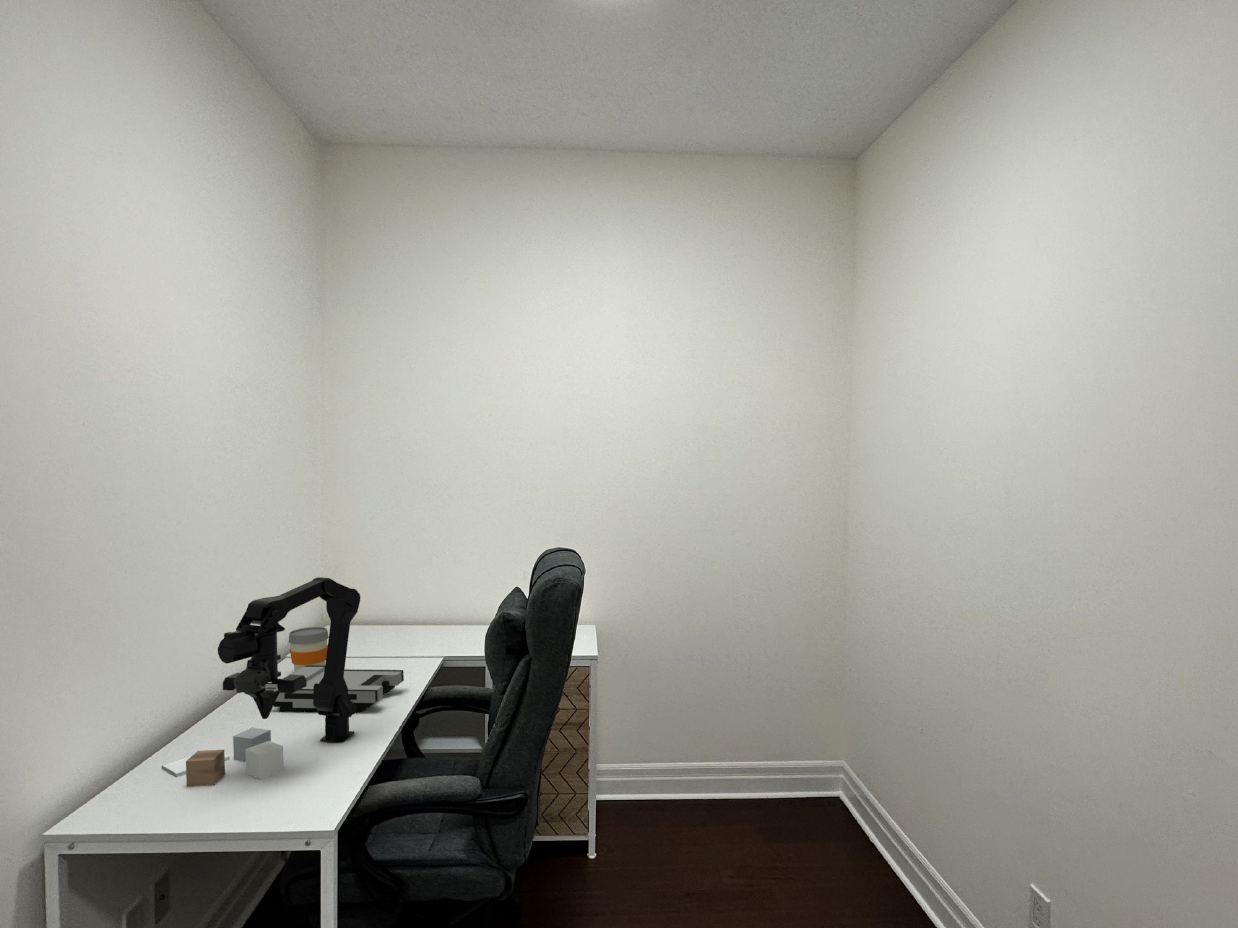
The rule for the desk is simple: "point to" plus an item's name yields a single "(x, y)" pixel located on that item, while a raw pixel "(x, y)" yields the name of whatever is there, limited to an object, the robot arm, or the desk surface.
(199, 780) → the walnut block
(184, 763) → the external hard drive
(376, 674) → the game console
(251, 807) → the desk surface
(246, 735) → the slate-grey block
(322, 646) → the reusable coffee cup
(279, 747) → the off-white cube
